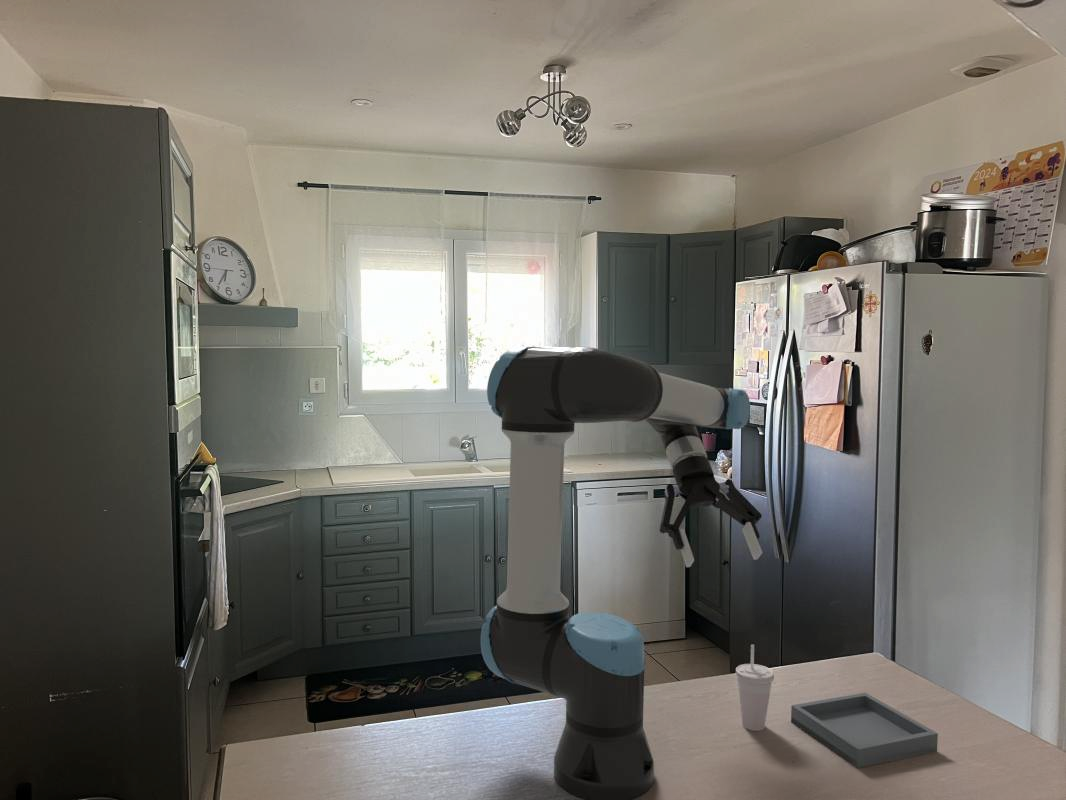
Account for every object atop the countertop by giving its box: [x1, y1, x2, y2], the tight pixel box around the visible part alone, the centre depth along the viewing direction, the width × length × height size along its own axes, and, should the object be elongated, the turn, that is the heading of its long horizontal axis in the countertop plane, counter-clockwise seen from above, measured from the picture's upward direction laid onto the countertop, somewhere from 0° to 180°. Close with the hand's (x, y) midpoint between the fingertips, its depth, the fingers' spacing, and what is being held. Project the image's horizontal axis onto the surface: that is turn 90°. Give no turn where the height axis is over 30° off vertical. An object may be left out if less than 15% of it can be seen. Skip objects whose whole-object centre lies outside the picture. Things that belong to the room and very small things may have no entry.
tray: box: [790, 692, 939, 769], centre depth 132 cm, size 16×16×3 cm
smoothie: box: [735, 644, 775, 732], centre depth 135 cm, size 6×6×14 cm
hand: (724, 560), depth 145 cm, fingers open, 13 cm apart
